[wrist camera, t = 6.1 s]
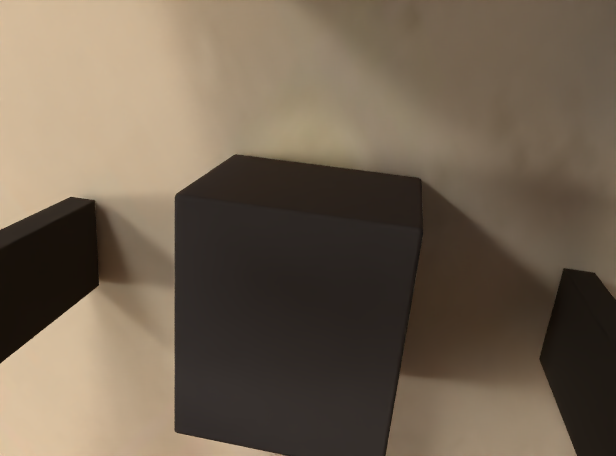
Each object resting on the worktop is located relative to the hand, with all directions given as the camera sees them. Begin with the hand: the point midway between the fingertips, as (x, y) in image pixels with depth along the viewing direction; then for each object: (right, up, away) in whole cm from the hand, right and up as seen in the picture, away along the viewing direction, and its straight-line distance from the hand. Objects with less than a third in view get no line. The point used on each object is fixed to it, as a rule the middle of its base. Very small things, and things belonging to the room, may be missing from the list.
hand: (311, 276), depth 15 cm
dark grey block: (0, 0, 0) cm, 0 cm away
